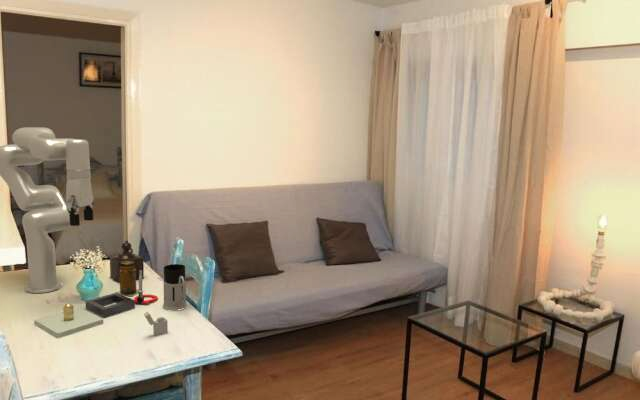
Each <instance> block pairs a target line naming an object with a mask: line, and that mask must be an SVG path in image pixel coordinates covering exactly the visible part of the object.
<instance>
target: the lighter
mask: <svg viewBox="0 0 640 400" xmlns="http://www.w3.org/2000/svg"><path fill="white" fill-rule="evenodd" d="M143 315H144V317H145V319H146V320H147V322H148V324H149V325H150V326H152V325H153V329H152V330H153V335H154V336H160V335H165V334H167V333H168V331H169V330H168V327H169V325H168V319H167V318H165V317H163V316H161V317H157V318H156V320H154V319H153V317H152V316H151V314H150V313H149V311H146V312H145V313H144V314H143Z"/></svg>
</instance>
